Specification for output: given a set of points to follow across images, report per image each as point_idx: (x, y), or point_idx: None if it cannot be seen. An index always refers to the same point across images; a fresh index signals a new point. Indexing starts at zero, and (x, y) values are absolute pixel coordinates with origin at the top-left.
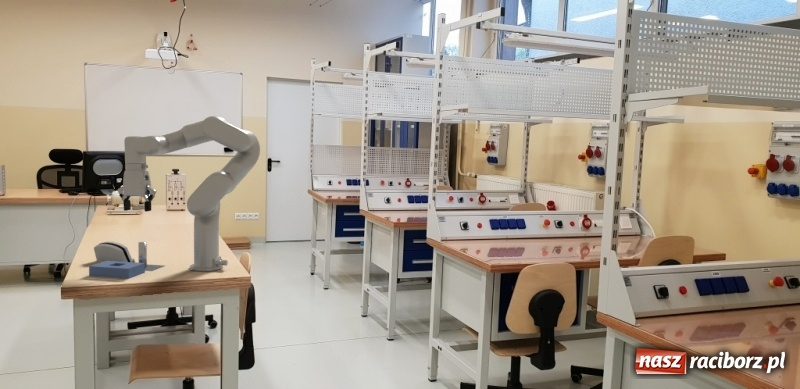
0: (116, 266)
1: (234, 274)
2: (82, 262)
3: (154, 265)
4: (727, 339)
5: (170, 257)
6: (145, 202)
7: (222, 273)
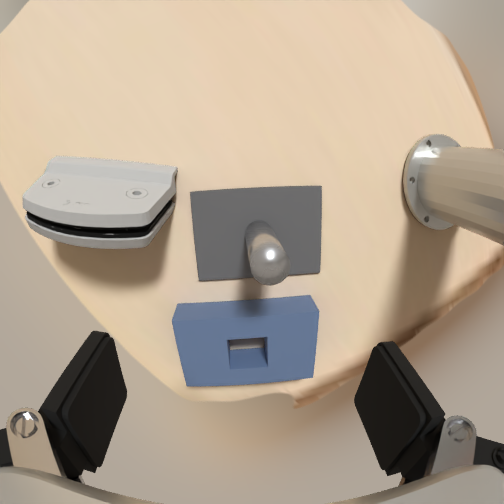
0: (263, 371)
1: None
2: None
3: (281, 196)
4: None
5: (243, 44)
6: (395, 464)
7: None
